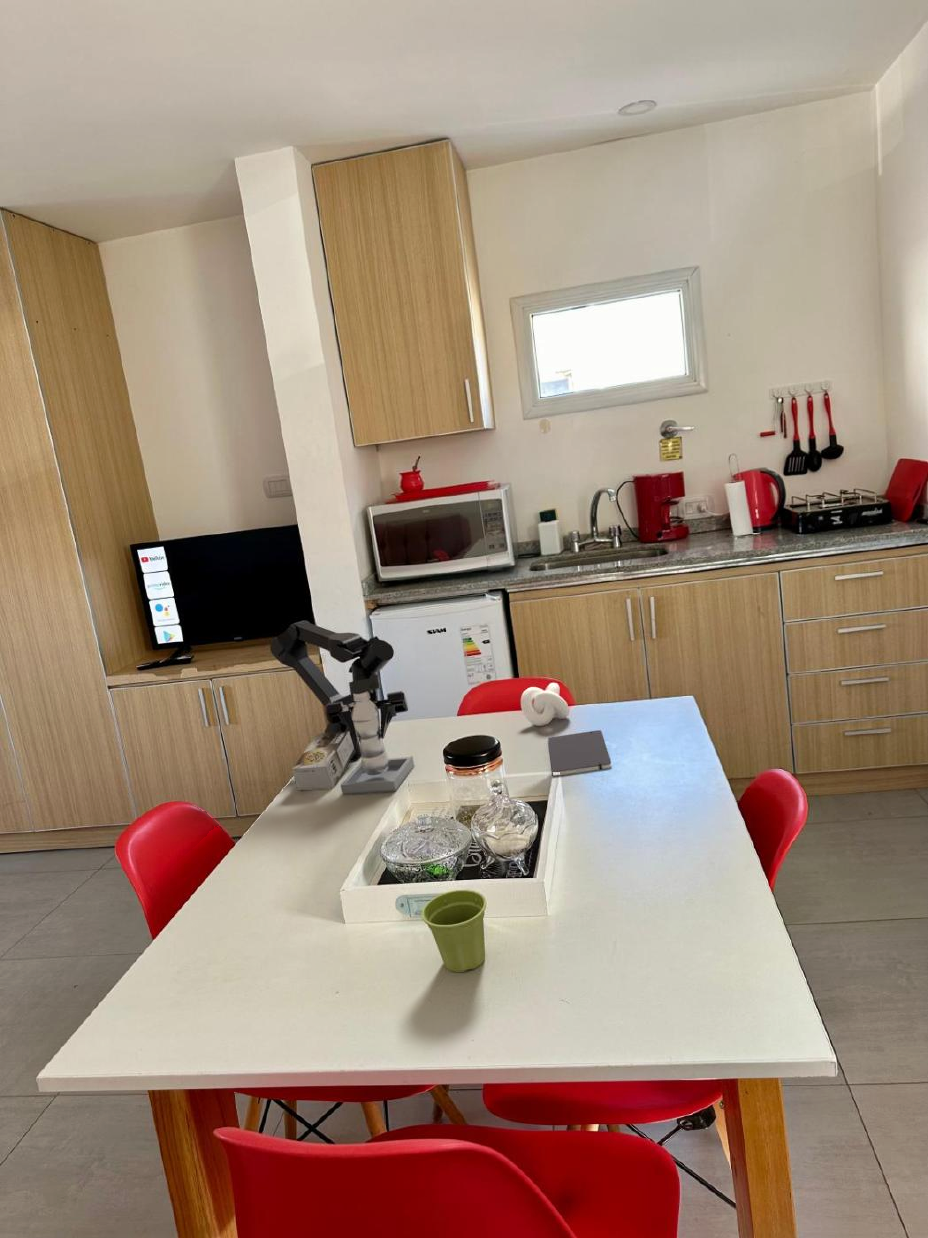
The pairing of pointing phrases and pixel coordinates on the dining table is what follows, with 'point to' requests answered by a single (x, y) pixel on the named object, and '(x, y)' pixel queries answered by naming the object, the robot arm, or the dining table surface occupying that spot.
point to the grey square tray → (378, 778)
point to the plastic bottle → (369, 735)
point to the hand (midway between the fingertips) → (369, 740)
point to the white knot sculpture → (543, 705)
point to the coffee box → (323, 761)
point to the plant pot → (458, 928)
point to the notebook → (578, 752)
